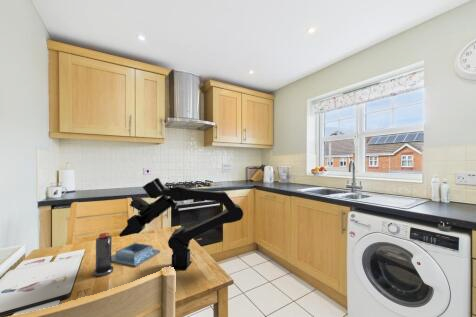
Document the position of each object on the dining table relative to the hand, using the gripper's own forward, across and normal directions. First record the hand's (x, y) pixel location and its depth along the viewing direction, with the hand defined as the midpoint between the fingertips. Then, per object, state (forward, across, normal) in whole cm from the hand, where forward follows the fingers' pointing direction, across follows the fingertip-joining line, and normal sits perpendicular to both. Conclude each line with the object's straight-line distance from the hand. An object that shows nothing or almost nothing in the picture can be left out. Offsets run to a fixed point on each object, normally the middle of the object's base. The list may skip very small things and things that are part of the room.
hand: (125, 231), depth 82 cm
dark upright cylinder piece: (+14, +2, +8) cm, 16 cm away
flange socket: (+9, -11, +12) cm, 18 cm away
